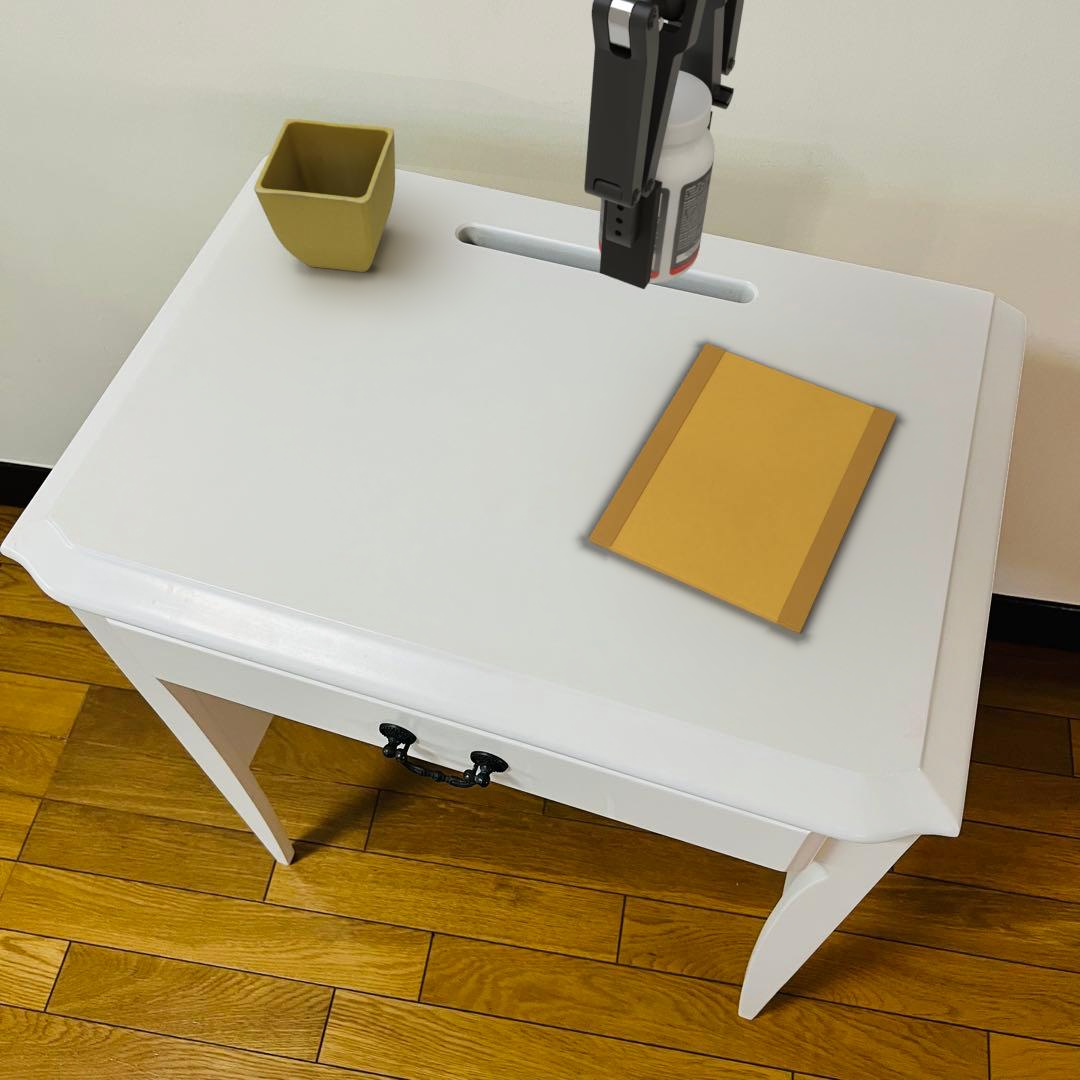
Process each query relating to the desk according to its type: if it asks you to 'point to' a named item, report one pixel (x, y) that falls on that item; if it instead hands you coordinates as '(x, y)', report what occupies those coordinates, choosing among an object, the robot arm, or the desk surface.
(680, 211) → the pill bottle
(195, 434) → the desk surface
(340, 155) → the flower pot
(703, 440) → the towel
